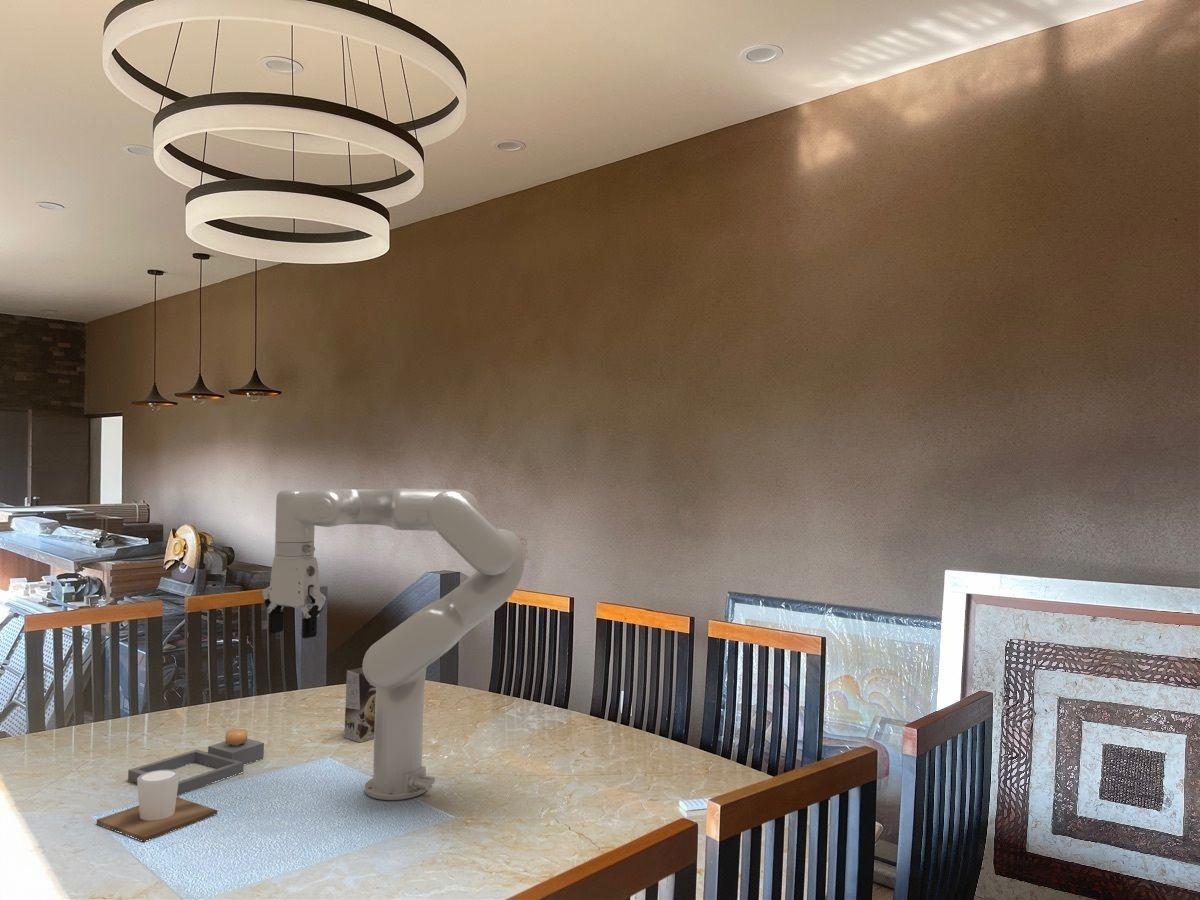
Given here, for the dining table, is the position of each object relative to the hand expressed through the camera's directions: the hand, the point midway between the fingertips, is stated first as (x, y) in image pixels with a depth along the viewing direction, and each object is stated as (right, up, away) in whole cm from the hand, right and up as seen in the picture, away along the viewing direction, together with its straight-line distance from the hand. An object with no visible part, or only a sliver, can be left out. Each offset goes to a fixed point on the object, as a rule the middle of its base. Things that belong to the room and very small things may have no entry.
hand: (292, 634), depth 173 cm
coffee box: (+7, -32, +32) cm, 45 cm away
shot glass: (-18, -29, -18) cm, 39 cm away
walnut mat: (-18, -29, -19) cm, 39 cm away
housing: (-21, -30, +6) cm, 37 cm away
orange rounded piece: (-17, -29, +13) cm, 36 cm away
